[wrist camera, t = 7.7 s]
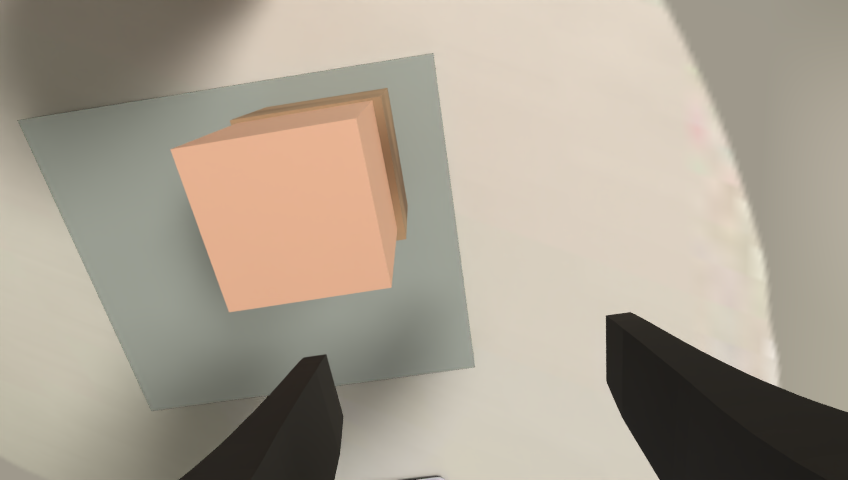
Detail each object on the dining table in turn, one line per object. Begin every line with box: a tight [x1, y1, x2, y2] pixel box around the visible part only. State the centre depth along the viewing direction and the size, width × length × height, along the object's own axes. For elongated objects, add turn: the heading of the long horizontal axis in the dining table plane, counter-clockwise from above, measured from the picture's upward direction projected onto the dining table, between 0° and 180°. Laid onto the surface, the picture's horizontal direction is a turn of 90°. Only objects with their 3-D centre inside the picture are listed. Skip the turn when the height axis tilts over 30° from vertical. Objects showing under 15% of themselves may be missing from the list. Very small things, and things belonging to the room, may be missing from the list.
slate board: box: [18, 53, 475, 411], centre depth 22 cm, size 15×17×1 cm
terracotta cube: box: [170, 100, 397, 312], centre depth 14 cm, size 4×4×4 cm
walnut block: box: [230, 88, 408, 241], centre depth 18 cm, size 5×5×4 cm
